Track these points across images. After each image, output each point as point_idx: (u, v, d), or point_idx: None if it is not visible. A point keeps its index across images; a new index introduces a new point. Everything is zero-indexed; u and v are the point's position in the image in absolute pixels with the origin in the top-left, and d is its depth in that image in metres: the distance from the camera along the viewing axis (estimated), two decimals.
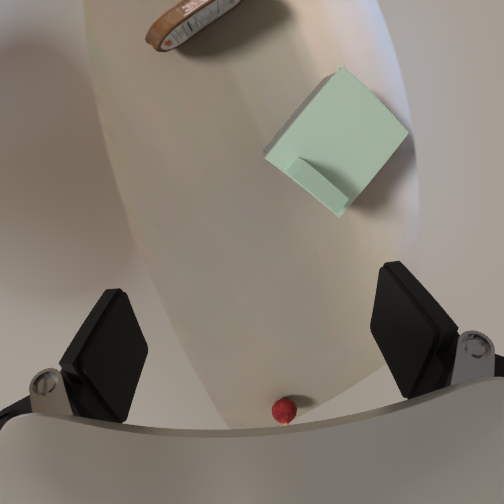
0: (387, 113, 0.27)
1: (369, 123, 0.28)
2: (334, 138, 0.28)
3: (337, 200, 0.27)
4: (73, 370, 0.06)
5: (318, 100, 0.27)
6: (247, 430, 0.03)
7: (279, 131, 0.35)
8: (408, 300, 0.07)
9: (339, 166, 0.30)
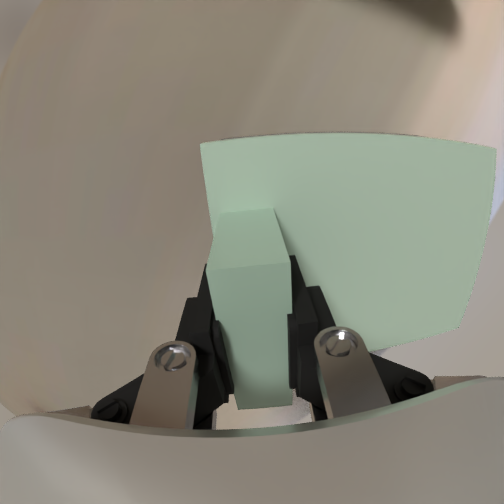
0: (470, 279, 0.12)
1: (442, 271, 0.12)
2: (376, 243, 0.11)
3: (267, 394, 0.09)
4: (207, 338, 0.07)
5: (422, 148, 0.09)
6: (247, 430, 0.03)
7: None
8: None
9: (329, 298, 0.12)
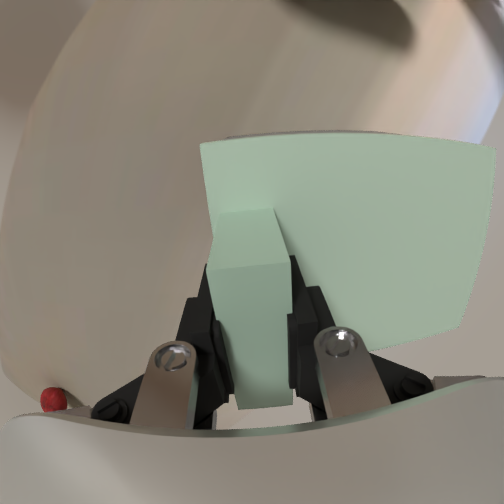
0: (470, 279, 0.12)
1: (441, 271, 0.12)
2: (375, 242, 0.11)
3: (268, 393, 0.09)
4: (207, 338, 0.07)
5: (422, 148, 0.09)
6: (247, 430, 0.03)
7: (267, 133, 0.23)
8: None
9: (329, 298, 0.12)
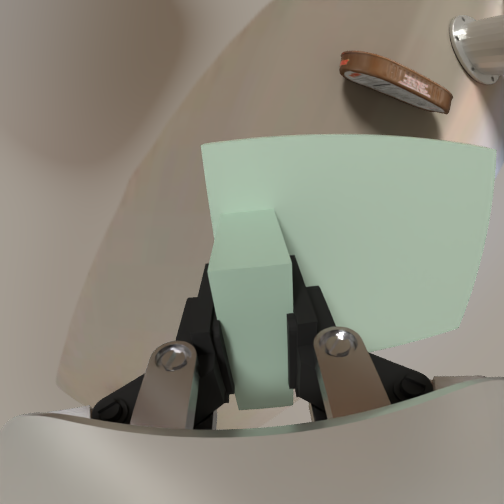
0: (470, 280, 0.12)
1: (441, 272, 0.12)
2: (376, 244, 0.11)
3: (268, 394, 0.09)
4: (208, 338, 0.07)
5: (422, 149, 0.09)
6: (247, 430, 0.03)
7: None
8: None
9: (329, 299, 0.12)
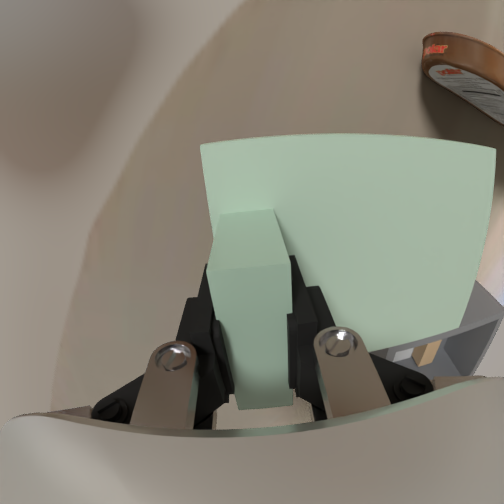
0: (470, 279, 0.12)
1: (441, 272, 0.12)
2: (375, 243, 0.11)
3: (267, 394, 0.09)
4: (208, 338, 0.07)
5: (422, 148, 0.09)
6: (247, 430, 0.03)
7: None
8: None
9: (329, 299, 0.12)
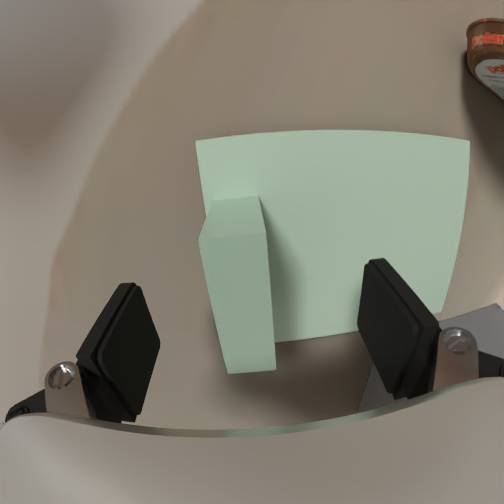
0: (449, 264, 0.14)
1: (419, 255, 0.14)
2: (352, 226, 0.13)
3: (253, 357, 0.10)
4: (91, 362, 0.06)
5: (393, 141, 0.11)
6: (247, 430, 0.03)
7: None
8: (390, 296, 0.07)
9: (311, 278, 0.14)
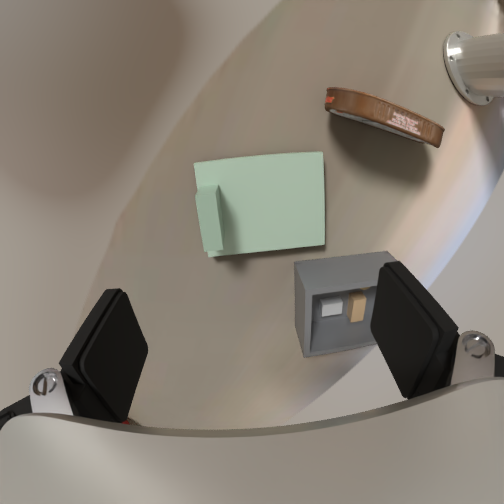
0: (320, 216, 0.33)
1: (298, 210, 0.32)
2: (259, 196, 0.31)
3: (213, 242, 0.29)
4: (73, 370, 0.06)
5: (275, 158, 0.30)
6: (247, 430, 0.03)
7: (321, 260, 0.37)
8: (408, 300, 0.07)
9: (243, 219, 0.32)
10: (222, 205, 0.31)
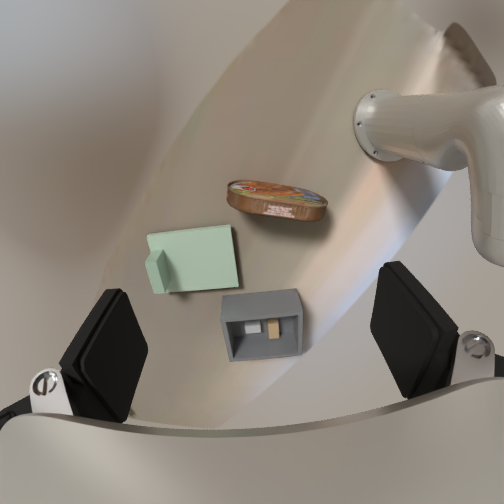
0: (233, 268, 0.48)
1: (216, 265, 0.48)
2: (189, 256, 0.47)
3: (158, 288, 0.44)
4: (73, 370, 0.06)
5: (197, 232, 0.45)
6: (247, 430, 0.03)
7: (241, 295, 0.52)
8: (408, 300, 0.07)
9: (181, 271, 0.48)
10: (167, 262, 0.47)
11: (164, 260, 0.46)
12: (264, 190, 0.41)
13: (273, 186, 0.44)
